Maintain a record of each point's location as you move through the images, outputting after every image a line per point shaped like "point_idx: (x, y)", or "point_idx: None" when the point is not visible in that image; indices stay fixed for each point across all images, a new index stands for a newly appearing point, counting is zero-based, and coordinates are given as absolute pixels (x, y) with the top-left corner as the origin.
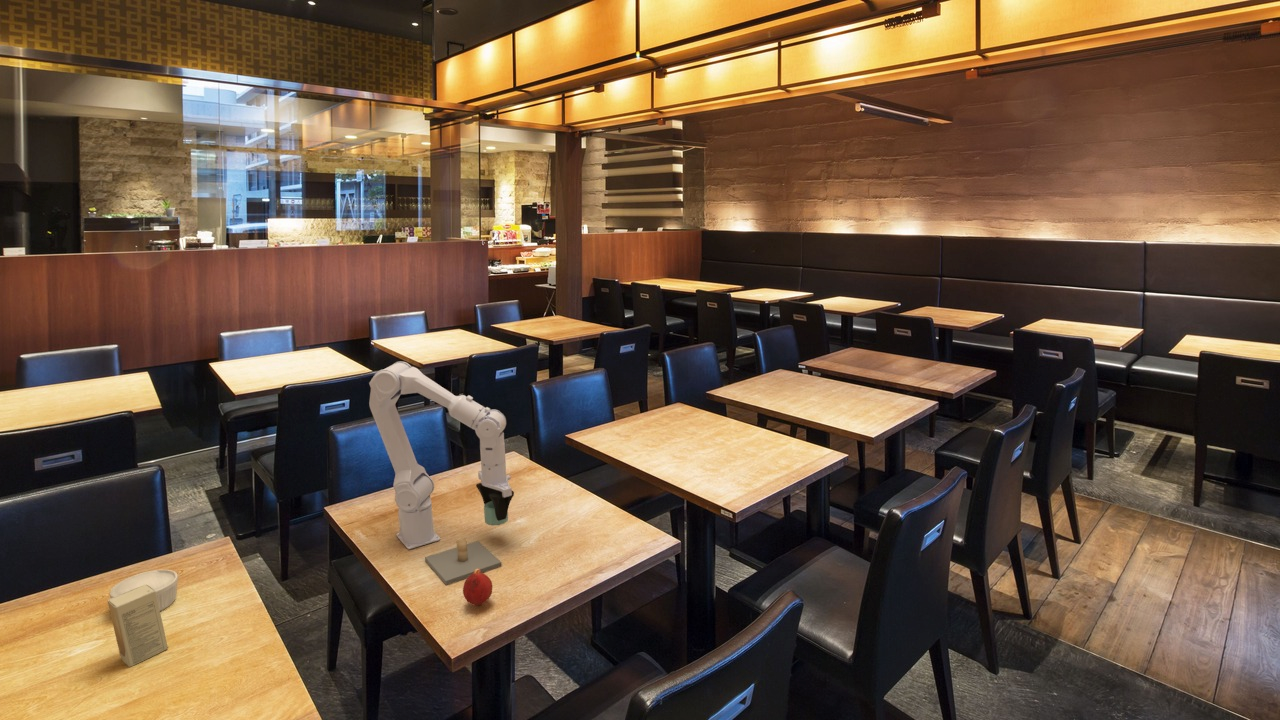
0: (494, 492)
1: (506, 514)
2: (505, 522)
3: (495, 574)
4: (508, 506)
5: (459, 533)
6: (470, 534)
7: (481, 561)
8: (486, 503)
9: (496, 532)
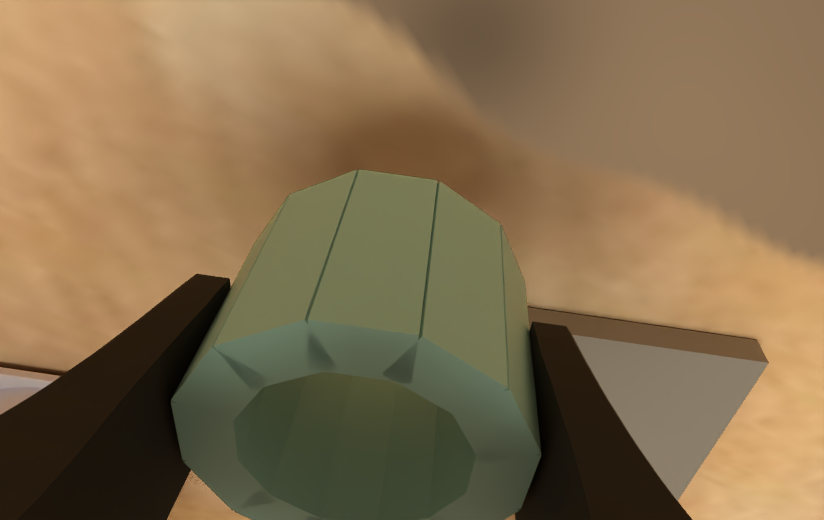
0: (80, 508)
1: (584, 366)
2: (514, 259)
3: (792, 403)
4: (654, 471)
5: (106, 278)
6: (163, 239)
7: (632, 420)
8: (217, 489)
9: (247, 81)
